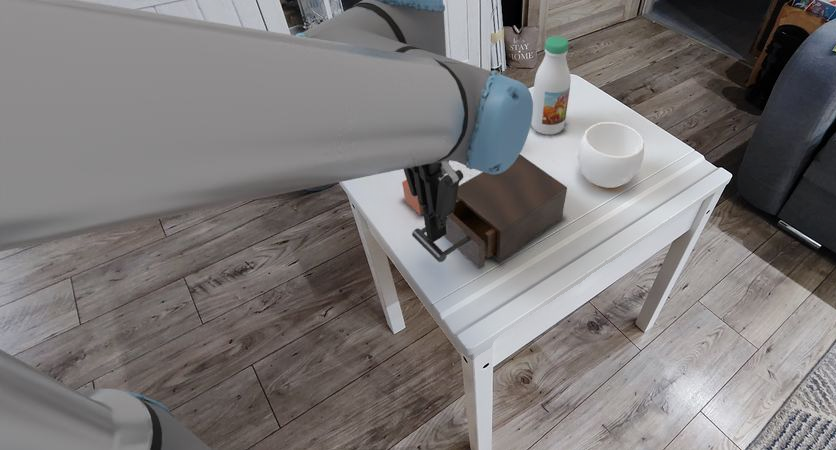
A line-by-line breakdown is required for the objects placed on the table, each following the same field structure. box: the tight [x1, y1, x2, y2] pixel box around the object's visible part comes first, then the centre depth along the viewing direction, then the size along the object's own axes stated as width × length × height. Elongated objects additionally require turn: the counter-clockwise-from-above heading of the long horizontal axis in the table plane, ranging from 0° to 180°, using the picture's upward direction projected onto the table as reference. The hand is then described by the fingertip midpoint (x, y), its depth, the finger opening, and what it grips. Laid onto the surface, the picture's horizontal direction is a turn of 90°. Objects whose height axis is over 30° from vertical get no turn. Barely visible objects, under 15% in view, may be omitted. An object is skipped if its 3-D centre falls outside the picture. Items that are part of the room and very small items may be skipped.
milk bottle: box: [531, 35, 572, 135], centre depth 97 cm, size 8×8×20 cm
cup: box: [577, 121, 645, 189], centre depth 89 cm, size 12×12×10 cm
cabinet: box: [457, 153, 568, 264], centre depth 81 cm, size 16×13×8 cm
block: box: [401, 179, 424, 216], centre depth 85 cm, size 5×5×5 cm
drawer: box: [411, 198, 497, 270], centre depth 78 cm, size 21×11×6 cm, turn 132°
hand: (436, 235), depth 72 cm, fingers closed
